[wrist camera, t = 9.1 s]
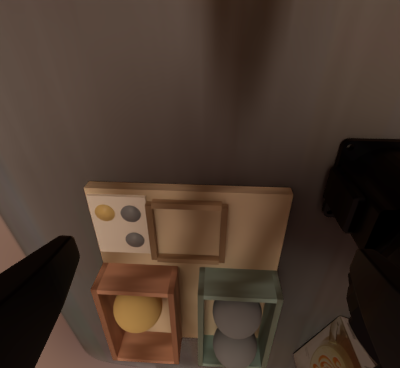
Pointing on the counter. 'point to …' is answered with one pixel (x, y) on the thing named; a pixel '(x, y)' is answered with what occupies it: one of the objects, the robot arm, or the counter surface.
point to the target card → (120, 222)
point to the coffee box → (334, 349)
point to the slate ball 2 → (234, 350)
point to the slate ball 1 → (237, 318)
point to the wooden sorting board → (195, 266)
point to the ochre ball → (137, 312)
